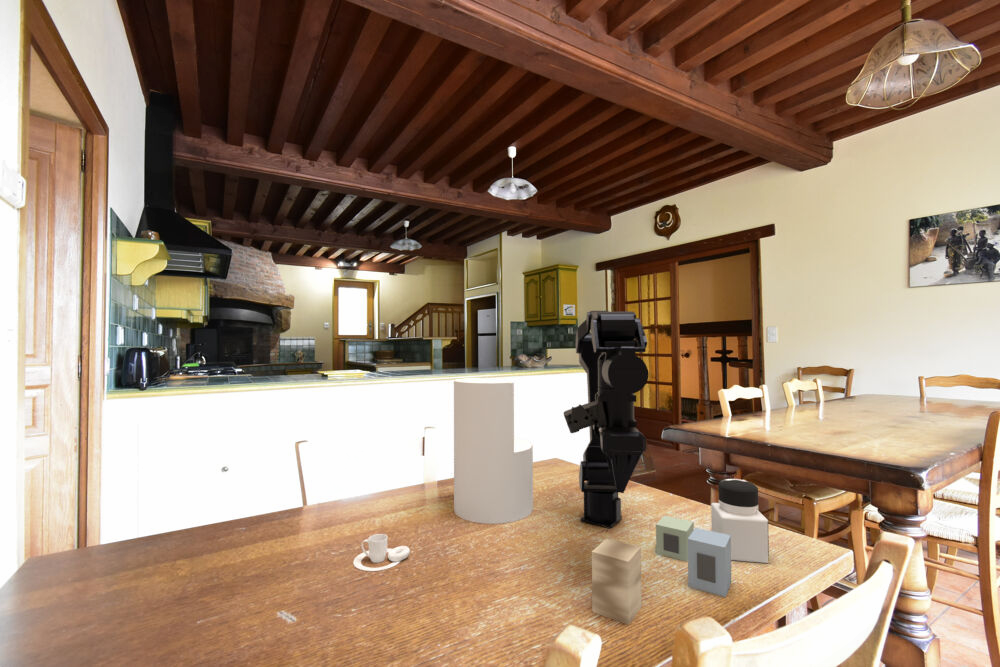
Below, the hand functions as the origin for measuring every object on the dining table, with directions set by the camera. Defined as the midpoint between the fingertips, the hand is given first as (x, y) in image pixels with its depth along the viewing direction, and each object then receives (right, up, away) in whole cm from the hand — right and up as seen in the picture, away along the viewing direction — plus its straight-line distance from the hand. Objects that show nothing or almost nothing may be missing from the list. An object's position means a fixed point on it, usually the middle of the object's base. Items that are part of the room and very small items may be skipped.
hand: (616, 482), depth 74 cm
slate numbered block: (+12, -13, -7) cm, 19 cm away
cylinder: (-21, -14, +25) cm, 35 cm away
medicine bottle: (+22, -13, +4) cm, 26 cm away
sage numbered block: (+11, -13, +4) cm, 18 cm away
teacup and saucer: (-38, -14, -1) cm, 40 cm away
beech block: (-3, -13, -13) cm, 19 cm away
